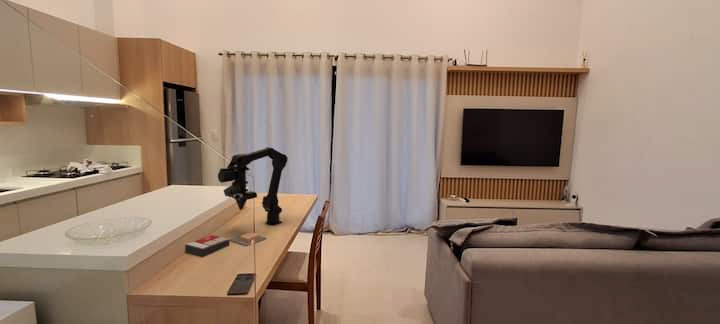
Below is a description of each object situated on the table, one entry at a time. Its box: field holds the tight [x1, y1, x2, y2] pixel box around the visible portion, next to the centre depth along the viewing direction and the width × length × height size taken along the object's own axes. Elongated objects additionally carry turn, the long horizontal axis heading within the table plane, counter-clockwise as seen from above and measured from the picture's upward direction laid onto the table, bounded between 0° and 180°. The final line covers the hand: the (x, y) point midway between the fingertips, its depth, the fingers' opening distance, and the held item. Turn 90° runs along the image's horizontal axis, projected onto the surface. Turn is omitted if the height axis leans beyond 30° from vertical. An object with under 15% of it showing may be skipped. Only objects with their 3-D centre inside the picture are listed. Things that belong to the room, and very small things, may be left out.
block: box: [239, 231, 261, 243], centre depth 163 cm, size 7×2×6 cm
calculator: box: [184, 234, 230, 258], centre depth 152 cm, size 11×4×15 cm
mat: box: [228, 232, 267, 247], centre depth 164 cm, size 12×13×1 cm
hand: (240, 209), depth 172 cm, fingers closed
